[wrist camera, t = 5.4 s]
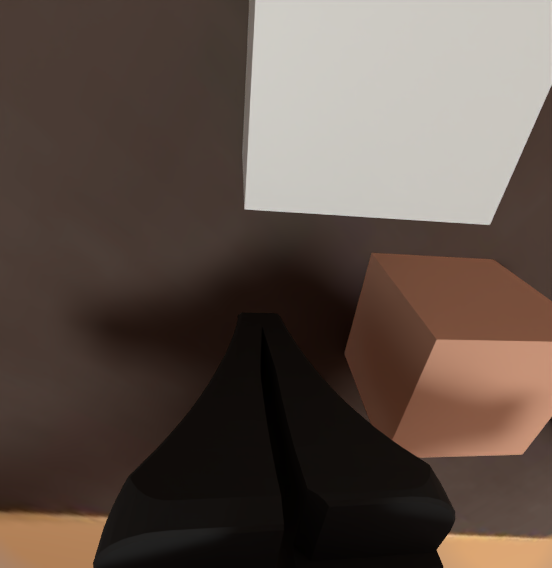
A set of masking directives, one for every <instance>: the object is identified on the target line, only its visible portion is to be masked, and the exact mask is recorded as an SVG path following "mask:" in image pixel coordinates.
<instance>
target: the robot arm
mask: <svg viewBox="0 0 552 568" xmlns="http://www.w3.org/2000/svg"><path fill="white" fill-rule="evenodd" d="M454 522H455V511H454V509H453V507H452V505H451V503H450V501H449V499H448V497H447V495H446V492H445V491H444V489H443V487H442V485H441V483H440V481H439V480H438V478H437V477H436V475H435V473H434V472H433V470H432V468H431V467H430V465H429V464H427V463H426V462H424V461H423V460H421V459H419V458H418V457H416V456H415V455H413V454H412V453H410V452H409V451H407V450H406V449H404V448H403V447H401V446H400V445H398V444H397V443H395V442H394V441H392V440H391V439H390V438H388V437H387V436H386V435H384V434H383V433H382V432H380V431H379V430H378V429H376V428H375V427H374V426H373V425H371V424H370V423H369V422H368V421H367V420H365V419H364V418H363V417H362V416H361V415H360V414H358V413H357V412H356V411H355V410H354V409H353V408H351V407H350V406H349V405H348V404H347V403H346V402H345V401H344V400H343V399H342V398H341V397H340V396H339V395H338V394H337V393H336V392H335V391H334V390H333V389H332V388H331V387H330V386H329V385H328V384H327V383H326V381H325V380H324V379H323V378H322V377H321V376H320V375H319V373H318V372H317V371H316V370H315V368H314V367H313V366H312V365H311V363H310V362H309V361H308V360H307V358H306V357H305V356H304V354H303V353H302V351H301V350H300V348H299V347H298V346H297V344H296V343H295V341H294V340H293V338H292V337H291V335H290V333H289V332H288V330H287V328H286V327H285V325H284V323H283V321H282V320H281V318H280V316H279V315H278V314H273V313H241V314H239V315H238V321H237V325H236V329H235V332H234V335H233V338H232V340H231V342H230V345H229V347H228V349H227V352H226V354H225V356H224V358H223V360H222V362H221V363H220V365H219V367H218V369H217V371H216V373H215V374H214V376H213V378H212V379H211V381H210V383H209V384H208V386H207V387H206V389H205V390H204V392H203V393H202V395H201V396H200V397H199V399H198V400H197V402H196V403H195V404H194V406H193V407H192V408H191V410H190V411H189V412H188V414H187V415H186V416H185V417H184V419H183V420H182V421H181V422H180V423H179V424H178V426H177V427H176V428H175V429H174V430H173V431H172V432H171V434H170V435H169V436H168V437H167V438H166V439H165V440H164V442H163V443H162V444H161V445H160V446H159V447H158V448H157V449H156V450H155V451H154V452H153V453H152V454H151V455H150V456H149V457H148V458H147V459H146V460H145V461H144V462H143V463H142V464H141V465H140V466H139V467H138V468H137V469H136V470H135V471H134V472H133V473H132V474H130V475H129V477H128V478H127V480H126V482H125V484H124V485H123V487H122V489H121V491H120V493H119V495H118V497H117V499H116V501H115V503H114V505H113V507H112V509H111V512H110V514H109V516H108V519H107V521H106V524H105V526H104V529H103V532H102V535H101V539H100V542H99V545H98V549H97V552H96V555H95V559H94V562H93V567H94V568H443V565H442V563H441V560H440V557H439V555H438V553H437V548H438V547H439V545H440V544H441V543H442V541H443V540H444V539H445V537H446V536H447V535H448V533H449V532H450V530H451V528H452V526H453V524H454Z"/></svg>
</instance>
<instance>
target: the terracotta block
mask: <svg viewBox="0 0 552 568" xmlns="http://www.w3.org/2000/svg"><path fill="white" fill-rule="evenodd" d="M344 354H345V357H346V360H347V362H348V365H349V368H350V370H351V373H352V376H353V378H354V381H355V383H356V386H357V389H358V391H359V394H360V397H361V399H362V402H363V404H364V407H365V410H366V412H367V415H368V418H369V420H370V423H371V425H373V426H374V427H375V428H376V429H378V430H379V431H380V432H382V433H383V434H384V435H386V436H387V437H388V438H390V439H391V440H392V441H394V442H395V443H397V444H398V445H400V446H401V447H403V448H404V449H406V450H407V451H409V452H410V453H412V454H413V455H415V456H416V457H418V458H423V457H456V456H490V455H522V454H523V453H524V452H525V450H526V449H527V448H528V447H529V445H530V444H531V443H532V441H533V440H534V439H535V438H536V436H537V435H538V434H539V432H540V431H541V430H542V429H543V427H544V426H545V425H546V423H547V422H548V421H549V420H550V418H551V417H552V301H551V300H549V299H548V298H546V297H545V296H544V295H542V294H541V293H539V292H538V291H537V290H535V289H534V288H532V287H531V286H530V285H528V284H527V283H525V282H524V281H523V280H521V279H520V278H519V277H517V276H516V275H514V274H513V273H512V272H510V271H509V270H507V269H506V268H505V267H503V266H502V265H500V264H499V263H498V262H496V261H495V260H494V259H477V258H458V257H439V256H421V255H402V254H384V253H371V257H370V260H369V264H368V268H367V271H366V275H365V279H364V283H363V286H362V290H361V294H360V297H359V301H358V305H357V308H356V312H355V316H354V319H353V323H352V327H351V331H350V334H349V338H348V342H347V345H346V349H345V353H344Z"/></svg>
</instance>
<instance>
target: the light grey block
mask: <svg viewBox="0 0 552 568" xmlns="http://www.w3.org/2000/svg"><path fill="white" fill-rule="evenodd" d="M551 85H552V0H249V18H248V40H247V62H246V85H245V107H244V129H243V152H242V161H243V184H244V206H245V209H248V210H264V211H279V212H295V213H311V214H327V215H342V216H358V217H374V218H390V219H405V220H421V221H437V222H453V223H469V224H484V225H490V223H491V221H492V219H493V216H494V214H495V212H496V210H497V207H498V205H499V203H500V200H501V198H502V196H503V194H504V191H505V189H506V187H507V185H508V182H509V180H510V178H511V176H512V173H513V171H514V169H515V167H516V164H517V162H518V160H519V157H520V155H521V153H522V151H523V148H524V146H525V144H526V142H527V139H528V137H529V135H530V133H531V130H532V128H533V126H534V124H535V121H536V119H537V117H538V114H539V112H540V110H541V108H542V105H543V103H544V101H545V99H546V96H547V94H548V92H549V90H550V87H551Z"/></svg>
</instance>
